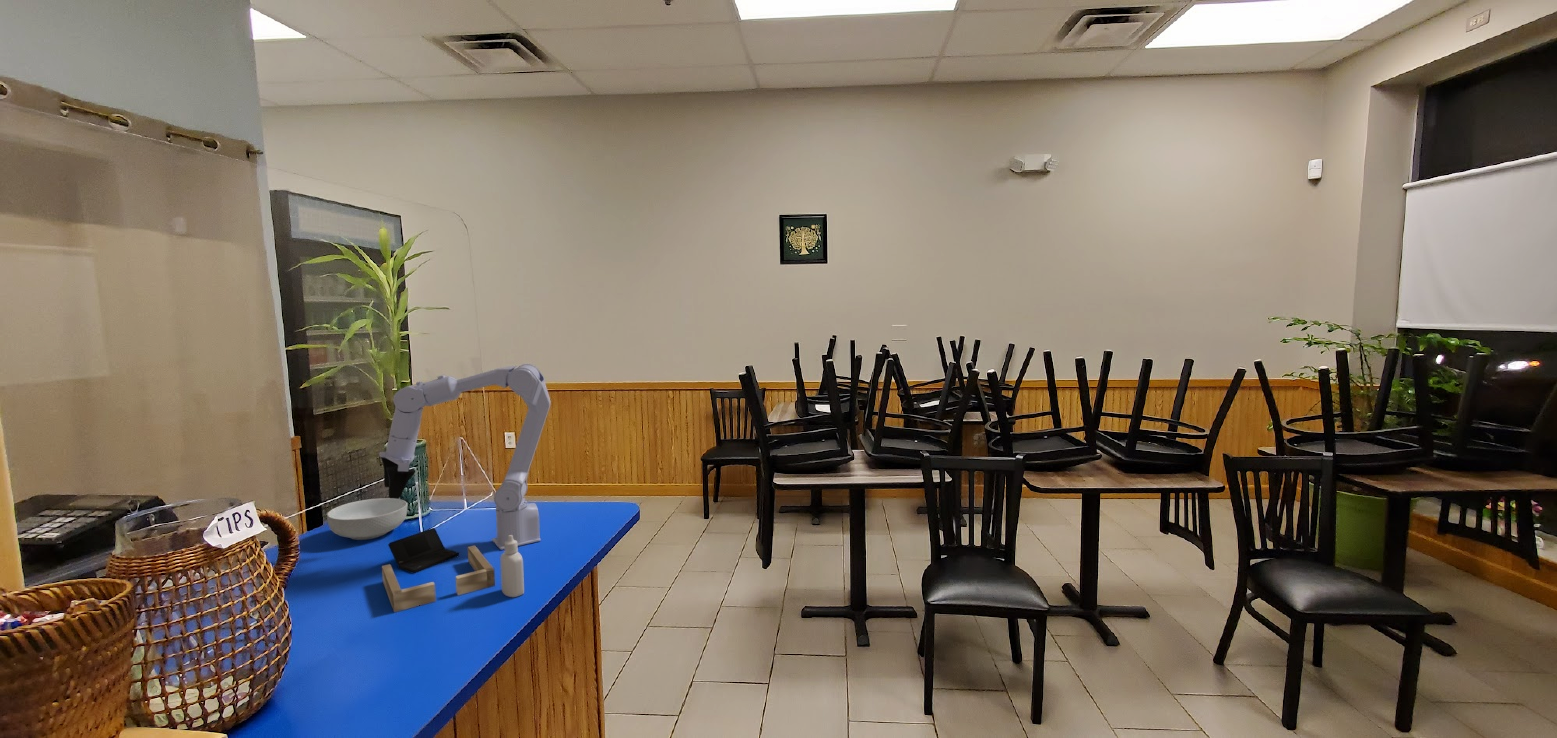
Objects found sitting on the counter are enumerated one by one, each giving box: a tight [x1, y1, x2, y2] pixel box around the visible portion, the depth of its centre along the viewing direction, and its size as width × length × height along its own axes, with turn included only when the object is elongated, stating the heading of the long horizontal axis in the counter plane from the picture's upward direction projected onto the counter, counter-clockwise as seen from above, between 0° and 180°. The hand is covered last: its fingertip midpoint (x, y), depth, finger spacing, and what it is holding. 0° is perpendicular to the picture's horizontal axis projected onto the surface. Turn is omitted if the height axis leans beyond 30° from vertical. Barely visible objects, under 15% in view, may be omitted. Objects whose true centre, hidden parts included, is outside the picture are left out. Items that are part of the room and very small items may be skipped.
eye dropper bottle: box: [500, 535, 525, 598], centre depth 124 cm, size 4×6×12 cm
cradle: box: [381, 544, 496, 613], centre depth 128 cm, size 18×16×4 cm
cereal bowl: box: [326, 497, 408, 541], centre depth 155 cm, size 17×17×7 cm
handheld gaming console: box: [387, 527, 460, 574], centre depth 139 cm, size 12×7×10 cm
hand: (392, 491), depth 143 cm, fingers open, 7 cm apart
